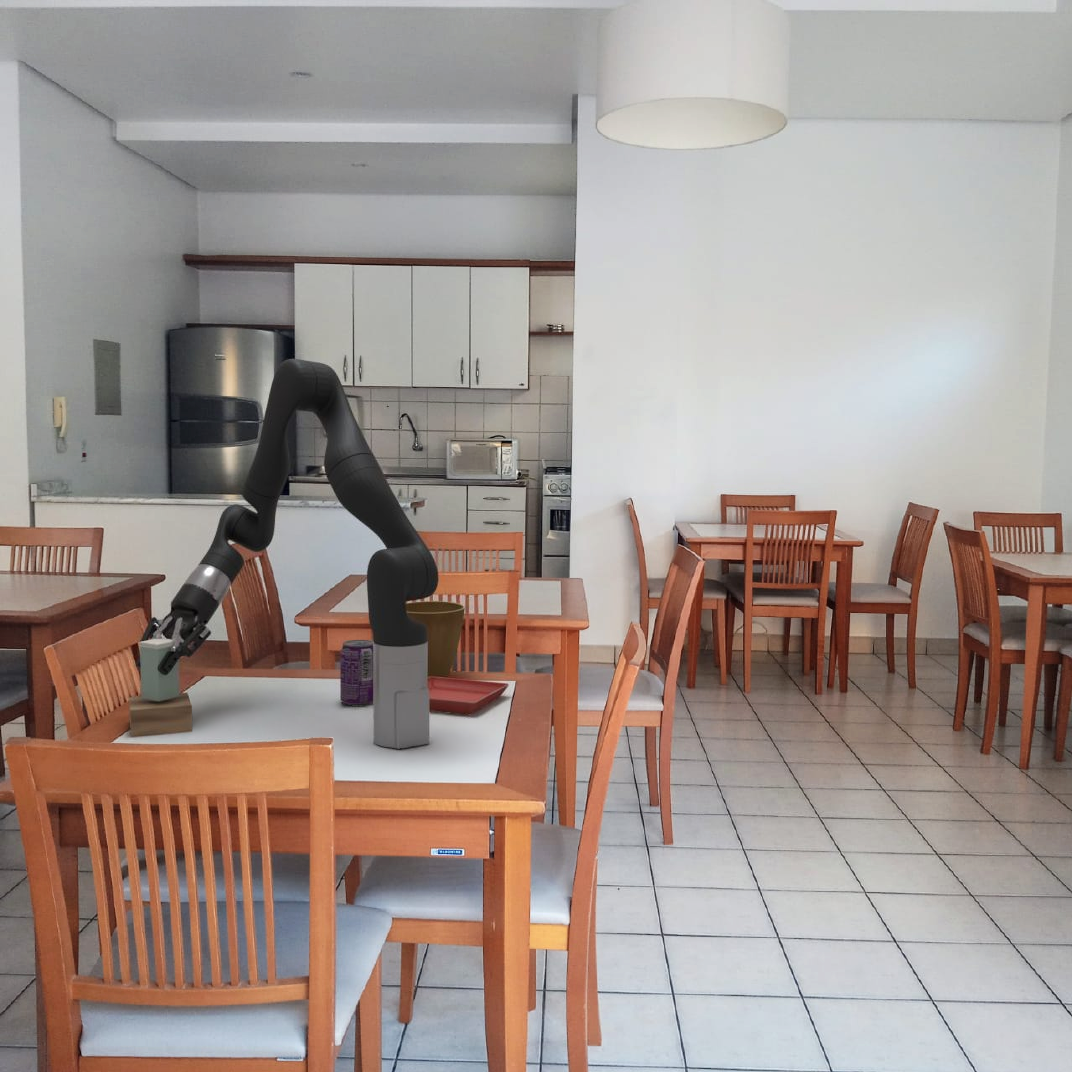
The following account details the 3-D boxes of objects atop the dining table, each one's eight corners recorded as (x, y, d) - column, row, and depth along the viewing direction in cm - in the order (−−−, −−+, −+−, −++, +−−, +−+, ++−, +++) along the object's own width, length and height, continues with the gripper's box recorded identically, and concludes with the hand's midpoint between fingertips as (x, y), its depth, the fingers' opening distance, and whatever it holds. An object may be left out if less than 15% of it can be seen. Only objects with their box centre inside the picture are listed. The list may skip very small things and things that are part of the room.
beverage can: (381, 698, 206) (380, 639, 205) (371, 707, 199) (371, 646, 198) (346, 697, 206) (345, 638, 205) (336, 706, 199) (335, 645, 198)
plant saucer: (429, 690, 215) (429, 674, 215) (510, 698, 209) (510, 682, 208) (388, 710, 198) (388, 694, 198) (474, 720, 192) (474, 702, 192)
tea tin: (180, 696, 185) (178, 640, 184) (158, 701, 180) (157, 644, 180) (161, 692, 187) (160, 637, 186) (140, 698, 183) (138, 642, 182)
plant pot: (388, 674, 228) (388, 602, 226) (453, 669, 233) (453, 599, 232) (404, 689, 214) (404, 613, 213) (473, 684, 219) (473, 609, 218)
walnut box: (192, 733, 181) (191, 705, 181) (131, 738, 178) (130, 710, 177) (187, 719, 191) (187, 692, 190) (129, 724, 187) (129, 697, 186)
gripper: (162, 579, 192) (109, 654, 182) (218, 584, 185) (166, 663, 176) (185, 603, 197) (135, 678, 187) (240, 610, 190) (191, 687, 181)
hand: (150, 670), depth 182 cm, fingers open, 5 cm apart
